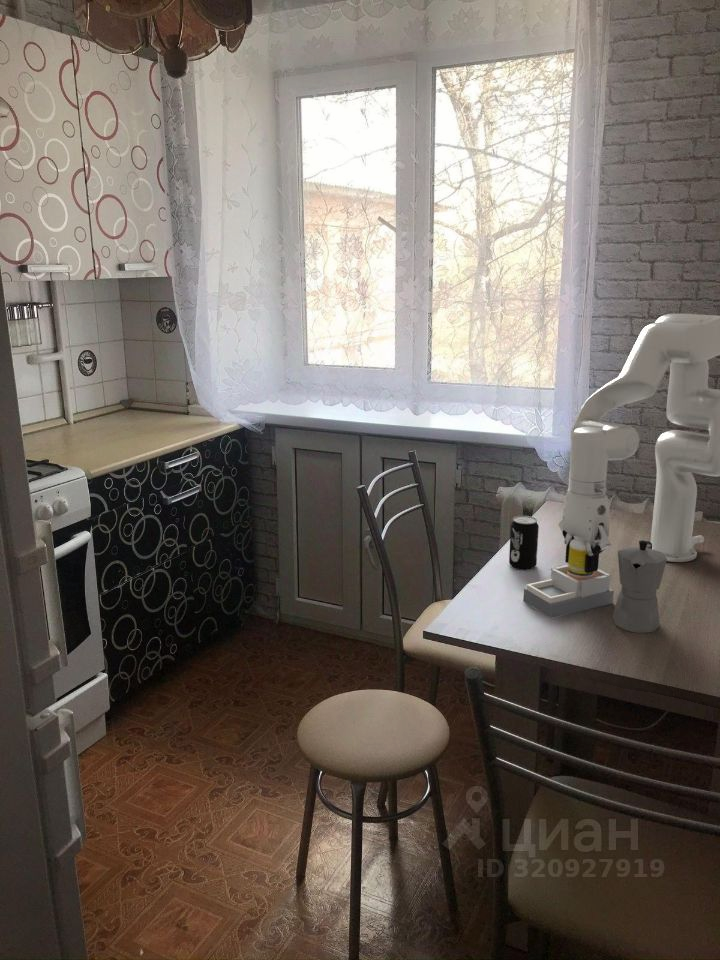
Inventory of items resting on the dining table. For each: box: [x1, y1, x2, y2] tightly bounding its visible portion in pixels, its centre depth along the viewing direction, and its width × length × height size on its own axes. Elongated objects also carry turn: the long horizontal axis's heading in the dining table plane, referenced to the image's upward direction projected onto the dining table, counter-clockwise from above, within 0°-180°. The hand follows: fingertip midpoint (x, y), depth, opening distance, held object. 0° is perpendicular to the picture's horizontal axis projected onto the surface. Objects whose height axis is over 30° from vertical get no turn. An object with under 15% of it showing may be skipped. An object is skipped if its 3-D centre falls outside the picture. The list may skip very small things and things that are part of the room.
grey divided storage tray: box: [522, 564, 615, 619], centre depth 169 cm, size 17×10×6 cm, turn 115°
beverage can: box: [508, 515, 540, 571], centre depth 189 cm, size 7×7×12 cm
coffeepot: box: [612, 540, 668, 634], centre depth 158 cm, size 15×9×18 cm, turn 151°
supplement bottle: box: [567, 536, 595, 578], centre depth 168 cm, size 5×5×10 cm
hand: (581, 565), depth 169 cm, fingers closed on supplement bottle, 5 cm apart
